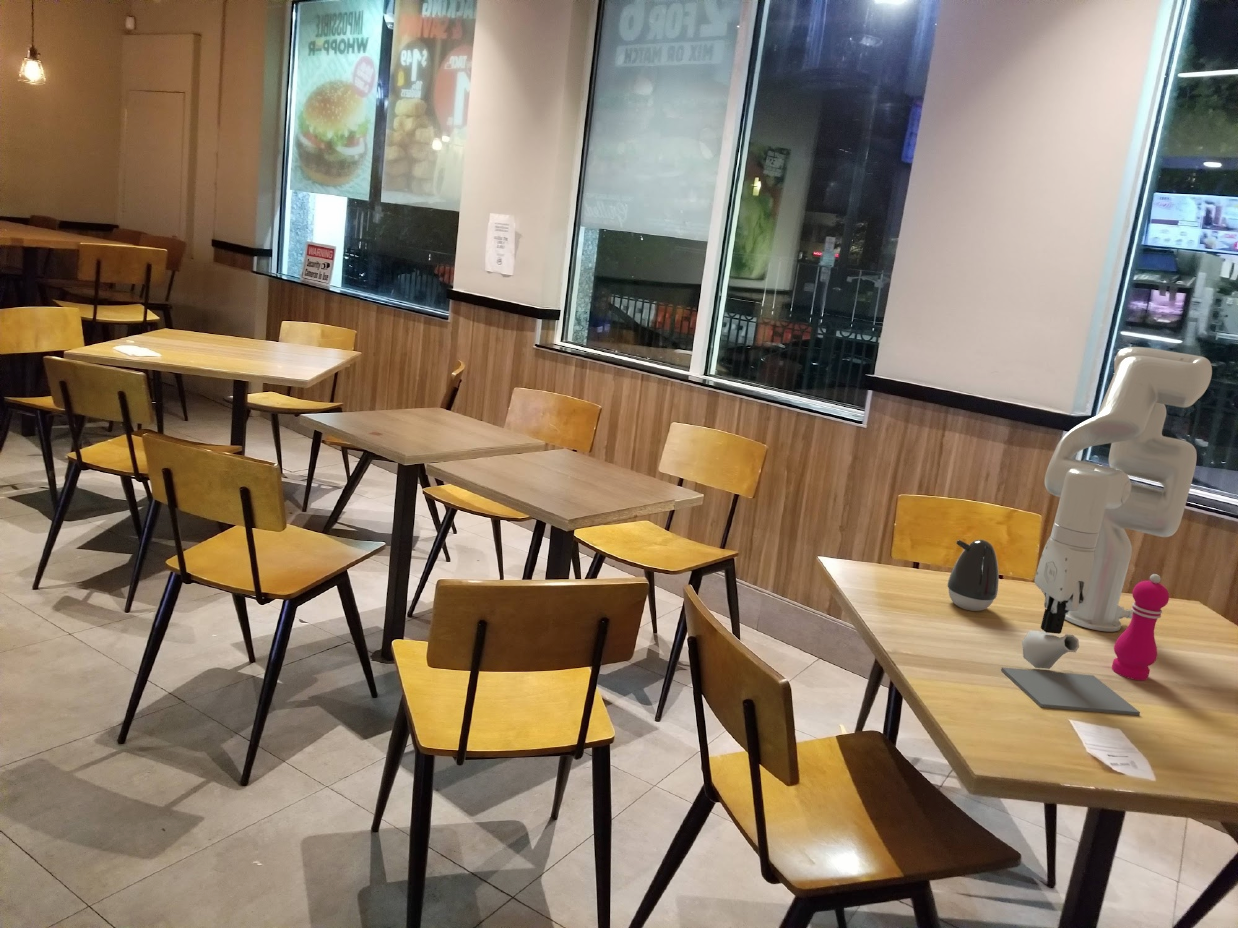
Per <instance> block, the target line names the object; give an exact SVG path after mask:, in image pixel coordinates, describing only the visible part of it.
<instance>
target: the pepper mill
mask: <svg viewBox="0 0 1238 928" xmlns="http://www.w3.org/2000/svg"><path fill="white" fill-rule="evenodd" d="M1161 579H1162V578H1161V576H1160V575H1158V574H1156V573H1152V574H1151V575H1149V580H1142V581H1139V582H1138V583H1136V584H1135V585H1134V588H1133V589H1132V593H1131V594H1132V595H1131V596H1132V598H1133V600H1134V602H1132V605H1131V606H1132V607H1131V608H1130V610H1132V611H1133V615H1132V619H1130V622H1129V624H1128V625H1127V627H1126V629H1125V630H1124V631H1123V632H1122V633H1121V634H1120V635H1119V636H1118V638H1117V639H1116V641H1115V642H1114V647H1113V651H1114V654H1115V655H1116V657H1115V658H1114V659H1113V661H1112V665H1111V669H1112V670H1113V672H1114V673H1116V674H1117V675H1119V676H1122V677H1123V678H1124V677H1125V678H1127V679H1131V680H1135V681H1146V680H1148V678H1149V675H1150V672H1151V669H1150V668H1149V666H1151V665H1153V664H1154V663H1155V662H1156V661H1157V658H1158V647H1157V643H1156V639H1155V628H1156V625H1157V621H1158V619H1161V617H1162V615H1161V614H1163V610H1162V609H1163V608H1164V607H1166V606H1167V605H1168V602H1169V601H1170V593H1169V591H1168V589H1167V587H1166V586H1164V585H1163V584H1161V583H1160V582H1161Z"/></svg>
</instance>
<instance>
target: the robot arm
mask: <svg viewBox="0 0 1238 928" xmlns="http://www.w3.org/2000/svg"><path fill="white" fill-rule="evenodd" d="M1113 366H1114V367H1113V369H1114V373H1113V375H1112V379H1111V381H1110V384H1109V386H1108V389H1107V391H1106V393H1105V395H1104V398H1103V400H1102V403H1101V404H1100V407H1099V410H1098V413H1097V414H1096V415H1095V416H1093V417H1091V418H1088V419H1086V420H1084V421H1082V422H1081V423H1079V424H1077V425H1076V426H1074V427H1073V428H1071V429H1070V430H1069V431H1068V432H1067V433H1065V434H1064V435H1063V436H1062V438H1061V439H1060V440H1059V442H1058V443H1057V445H1056V447H1055V449H1054V452H1053V454H1052V456H1051V459H1050V461H1049V464H1048V466H1047V469H1046V471H1045V475H1044V486H1045V488H1046V489H1045V490H1046V491H1047V492H1048V493H1049V494H1050V495H1052V496H1055V497H1058V498H1059V502H1058V506H1057V509H1056V513H1055V518H1054V522H1053V525H1052V530H1051V533H1050V536H1049V537H1048V539H1047V541H1046V543H1045V545H1044V547H1043V551H1042V553H1041V555H1040V559H1039V561H1038V566H1037V569H1036V573H1035V576H1034V584H1035V586H1036V587H1037V588H1038V589H1039V590H1040V591H1041V593H1042V594H1043V596H1044V605H1043V607H1044V608H1045V609H1044V613H1043V616H1042V620H1041V624H1040V630H1041V631H1043V632H1046V633H1049V634H1057V635H1059V634H1061V633H1062V632H1063V627H1064V623H1065V620H1066V621H1067V622H1069V623H1072V624H1073V625H1076V626H1079V627H1083V628H1085V629H1090V630H1093V631H1099V632H1105V633H1106V632H1108V633H1109V632H1111V633H1112V632H1113V633H1114V632H1118V631H1120V630H1121V627H1122V622H1121V621H1120V620H1122V619H1123V618H1124V619H1125V618H1126V619H1130V620H1131V619H1132V615H1133V611H1132V610H1131V609H1125V608H1124V606H1121V605H1119V603H1120V599H1121V595H1122V592H1123V588H1124V584H1125V581H1126V577H1127V573H1128V570H1129V569H1128V568H1129V564H1130V561H1131V558H1132V553H1133V545H1132V542H1131V540H1130V538H1129V536H1128V534H1127V532H1126V530H1132V531H1137V532H1140V533H1144V534H1149V535H1152V536H1156V537H1160V538H1161V537H1162V538H1169V537H1172V536H1173V535H1175V534H1176V532H1177V531H1178V529H1179V527H1180V525H1181V522H1182V518H1183V515H1184V512H1185V508H1186V505H1187V500H1188V498H1189V493H1190V489H1191V486H1192V483H1193V477H1194V475H1195V471H1196V465H1197V455H1198V454H1197V449H1196V448H1195V446H1194V445H1193V444H1192V443H1191V442H1189V441H1186V440H1182V439H1179V438H1174V437H1170V436H1164V435H1163V434H1162V433H1163V429H1164V424H1165V421H1166V417H1167V408H1166V405H1168V406H1171V407H1172V406H1174V407H1178V408H1189V407H1191V406H1192V405H1194V404H1195V403H1196V402H1197V401H1198V399H1200V398H1201V397H1202V396H1203V395H1204V394H1205V392H1206V390H1207V389H1208V387H1209V385H1210V383H1211V379H1212V375H1213V368H1212V364H1211V361H1210V360H1209V359H1208V358H1206V357H1204V356H1202V355H1201V356H1200V355H1196V354H1188V353H1182V352H1177V351H1169V350H1165V349H1159V348H1158V349H1157V348H1151V347H1143V346H1128V347H1124V348H1123V347H1122V348H1121V349H1120V350H1119V351H1118V352H1117V353H1116V356H1115V358H1114V365H1113ZM1106 444H1110V448H1109V454H1108V465H1109V466H1105V465H1100V464H1098V463H1094V462H1093V463H1092V462H1089V461H1084V460H1080V459H1075V458H1073V457H1074V456H1075V455H1077V453H1079V452H1080V451H1083V450H1085V449H1087V448H1091V447H1094V446H1101V445H1106ZM1130 477H1133V478H1138V479H1142V480H1146V481H1149V482H1150V481H1151V482H1156V483H1159V484H1161V486H1163V489H1158V488H1155V487H1150V486H1146V485H1143V484H1140V483H1139V484H1138V483H1135V482H1134V483H1133V482H1131V478H1130ZM1125 529H1126V530H1125Z"/></svg>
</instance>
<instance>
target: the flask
mask: <svg viewBox="0 0 1238 928" xmlns="http://www.w3.org/2000/svg"><path fill="white" fill-rule="evenodd" d="M1021 643H1022V644H1021V645H1022V657H1023V659H1024V660H1025V661H1026V662H1028V663H1029V664H1030V665H1032V666H1033V667H1034V668H1037V669H1047V670H1048V669H1049V670H1050V669H1052V667H1053V666H1054V665H1055V663H1056V662H1057V661H1058V660H1059V659H1061V657H1062V656H1063V655H1065V654H1067V653H1077V651H1078V649H1079V648H1080V641H1079V639H1078V637H1076V636H1075V635H1074V634H1064V636H1061V637H1060V636H1057V635H1054V634H1052V633H1046V632H1045V631H1043V630H1041V631H1040V630H1029V631H1028V633H1027V634H1026V635H1025V637H1024V638H1023V640H1022V642H1021Z"/></svg>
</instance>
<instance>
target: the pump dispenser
mask: <svg viewBox="0 0 1238 928" xmlns="http://www.w3.org/2000/svg"><path fill="white" fill-rule="evenodd" d="M956 545H958V547H960V548H962V549H963V550H962V552H961V553H960V555H959V557H958V559H957V560H956V562H954V565H953V568H952V571H951V573H950V575H949V578H948V581H947V585H946V586H947V588H948V595H949V598H950V600H951V602H953V604H954V605H956V606H957V607H959V608H961V609H963V610H966V611H971V612H981V611H984V610H986V609H987V608H989V607H990V606H991V605H992V604H993V602H994V601H995V599H997V596H998V592H999V582H1000V581H999V579H1000V578H999V575H1000V574H999V573H1000V572H999V565H998V564H999V563H998V558H997V554H996V550H995V549H994V546H993V545H992V544H991V543H990V542H989V541H988V540H984V539H975V540H973V541H971V542H970V543H969V544H968V543H966V542H964V541H962V540H960V539H958V540H957V541H956Z"/></svg>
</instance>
